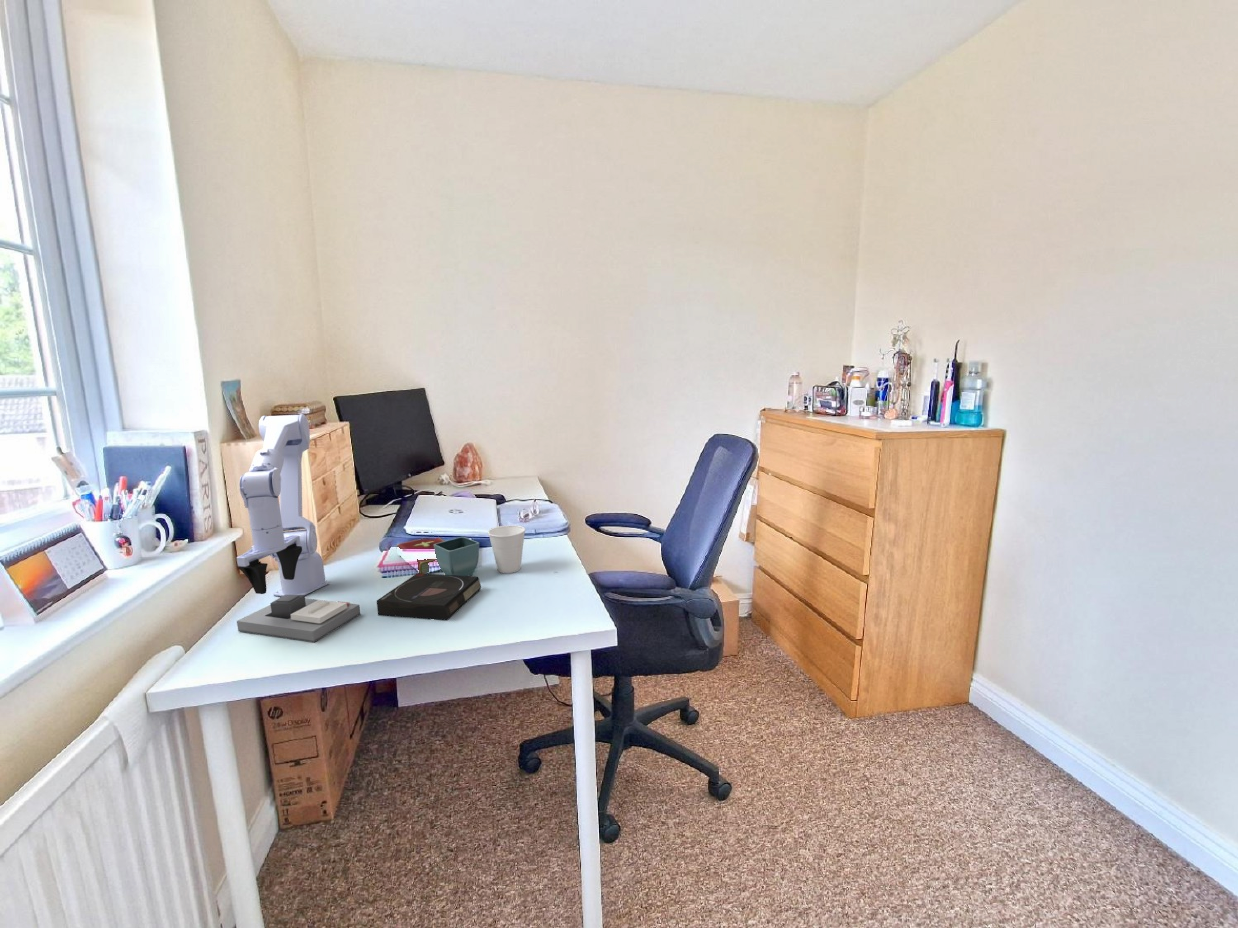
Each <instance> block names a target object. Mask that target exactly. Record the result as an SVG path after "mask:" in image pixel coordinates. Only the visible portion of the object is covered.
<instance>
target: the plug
mask: <svg viewBox="0 0 1238 928" xmlns="http://www.w3.org/2000/svg"><path fill="white" fill-rule="evenodd" d="M305 598H306V595H286V594H285V595H284V596H279V598H277V599H275V600H273V601H272V602H270V605H271V611H272V617H275V618H282V619H289V618H291V614H292V613H294V612H296V611H298V610H300V609H302V608H304V607H306V602H305Z"/></svg>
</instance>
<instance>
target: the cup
mask: <svg viewBox="0 0 1238 928" xmlns="http://www.w3.org/2000/svg"><path fill="white" fill-rule="evenodd" d="M526 530H527V529H526V527H525V526H522V525H517V524H516V525H515V524H510V525H509V524H508V525H507V524H506V525H499V526H495V527H493V528H490V529H489V530H487V534H488V537H489V541H490V545H491V549H492V552H493V556H494V560H495V565H496V569H497V571H498V572H499V573H501V574H513V572H514V573H516V572H518V571H520V569H521V568H522V559H523V558H522V557H523V548H524V542H525V541H524V540H525V534H526V533H525V532H526Z"/></svg>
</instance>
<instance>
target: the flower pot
mask: <svg viewBox="0 0 1238 928" xmlns="http://www.w3.org/2000/svg"><path fill="white" fill-rule="evenodd" d="M434 549H435V554H436V558H437V562H438V564H439V566H440V568H441V570H440V571H442V572H443V575H459V576H473V574H474V573H475V572H476V569H477V566H478V565H479V564H478V563H479V557H480V555H479V554H480V541H479V542H478V541H476V540H473V539H470V538H468V537H465V536H460V537H455V538H452V539H448V540H444V542H440V543H436V544H434Z"/></svg>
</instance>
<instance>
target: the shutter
mask: <svg viewBox="0 0 1238 928" xmlns="http://www.w3.org/2000/svg"><path fill="white" fill-rule="evenodd" d="M343 602H344V601H340V602H338V601H333V600H323V599H317V601H315V602H313V603H311V604H310V605H308V606H306V607H304V608H302V609H300V610H298V611H296V612H294V613H292V614H291V620H297V621H305V622H312V623H322V622H324V621H325V620H327V619H329V618H331V617H332V616H334V615H336V614H338V613H339V612H341V611H343V610H345V609H346V608H347V603H343Z"/></svg>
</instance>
